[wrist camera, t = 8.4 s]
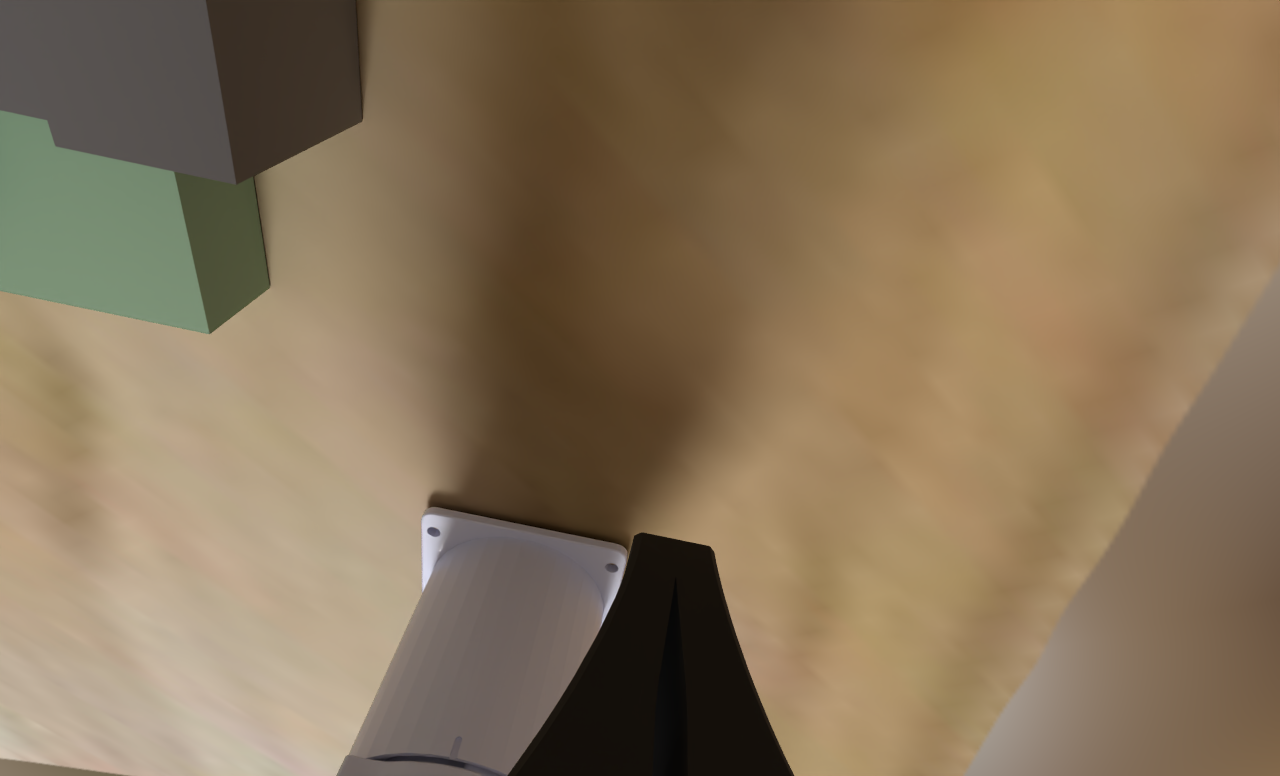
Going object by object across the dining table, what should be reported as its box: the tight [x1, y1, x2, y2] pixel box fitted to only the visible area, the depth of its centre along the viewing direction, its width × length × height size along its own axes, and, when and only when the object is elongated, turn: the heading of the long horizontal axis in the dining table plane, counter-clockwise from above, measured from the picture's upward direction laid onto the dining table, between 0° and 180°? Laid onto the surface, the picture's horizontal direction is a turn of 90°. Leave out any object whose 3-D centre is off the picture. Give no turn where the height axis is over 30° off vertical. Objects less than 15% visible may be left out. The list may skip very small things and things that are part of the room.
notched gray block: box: [0, 0, 362, 185], centre depth 14 cm, size 4×7×6 cm, turn 80°
